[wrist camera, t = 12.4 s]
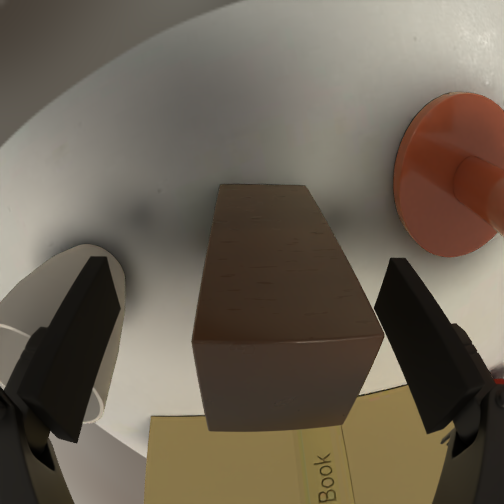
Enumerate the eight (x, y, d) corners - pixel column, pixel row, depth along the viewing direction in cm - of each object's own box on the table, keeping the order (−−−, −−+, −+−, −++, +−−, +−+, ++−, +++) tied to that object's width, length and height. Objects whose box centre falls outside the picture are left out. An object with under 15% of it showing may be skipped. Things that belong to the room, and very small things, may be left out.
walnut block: (219, 184, 18) (190, 341, 7) (306, 185, 18) (386, 335, 7) (221, 258, 20) (208, 432, 10) (298, 258, 20) (343, 425, 10)
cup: (77, 319, 23) (32, 415, 14) (33, 236, 19) (-46, 324, 10) (161, 310, 22) (131, 428, 14) (121, 211, 18) (43, 318, 10)
